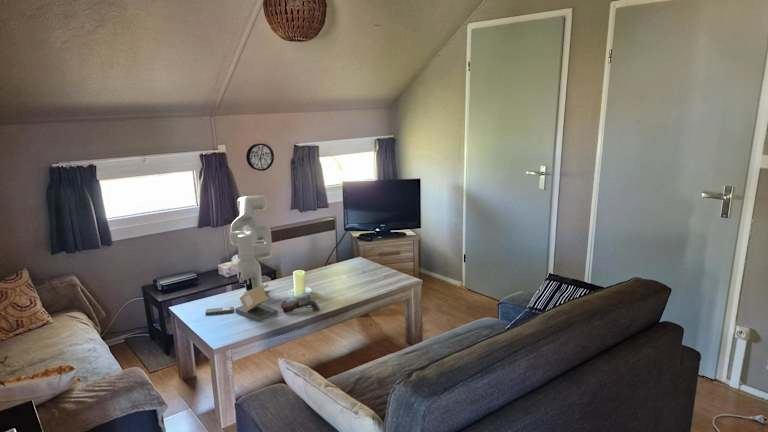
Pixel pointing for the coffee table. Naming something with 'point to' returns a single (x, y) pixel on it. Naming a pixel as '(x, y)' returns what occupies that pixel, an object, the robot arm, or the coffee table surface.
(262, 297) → the carton
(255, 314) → the podium
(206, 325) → the coffee table surface
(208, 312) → the remote
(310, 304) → the toy gun
